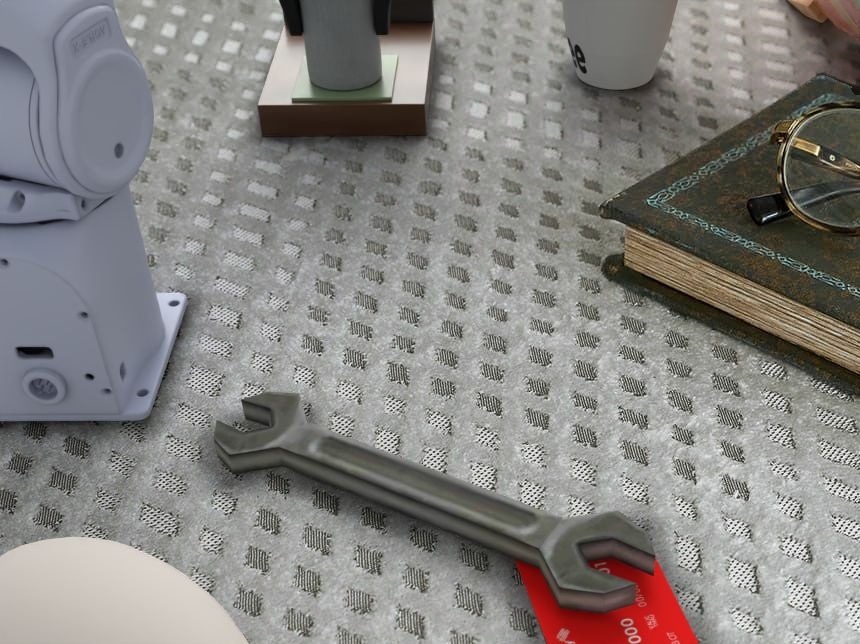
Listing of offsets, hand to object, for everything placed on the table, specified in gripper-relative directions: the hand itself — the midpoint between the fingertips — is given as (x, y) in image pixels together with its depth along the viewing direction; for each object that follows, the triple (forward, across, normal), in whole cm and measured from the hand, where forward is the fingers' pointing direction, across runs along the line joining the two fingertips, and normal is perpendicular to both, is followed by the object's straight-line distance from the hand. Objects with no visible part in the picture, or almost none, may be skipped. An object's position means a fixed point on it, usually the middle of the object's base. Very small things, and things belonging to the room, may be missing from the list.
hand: (341, 28), depth 71 cm
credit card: (+5, -14, +42) cm, 44 cm away
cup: (+5, -17, -5) cm, 18 cm away
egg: (+1, +8, +44) cm, 44 cm away
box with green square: (+5, 0, -3) cm, 6 cm away
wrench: (+4, -15, +41) cm, 44 cm away
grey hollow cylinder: (+3, 0, 0) cm, 3 cm away
